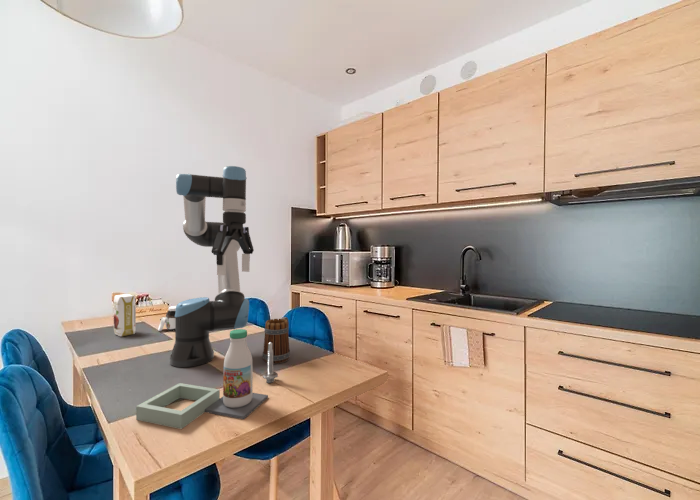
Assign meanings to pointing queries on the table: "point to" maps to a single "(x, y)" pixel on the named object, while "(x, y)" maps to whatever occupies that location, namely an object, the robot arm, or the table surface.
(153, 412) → the collar
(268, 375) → the screw
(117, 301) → the juice carton
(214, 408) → the plate
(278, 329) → the mug
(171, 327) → the spread jar
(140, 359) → the table surface
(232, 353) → the milk bottle
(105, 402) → the table surface
